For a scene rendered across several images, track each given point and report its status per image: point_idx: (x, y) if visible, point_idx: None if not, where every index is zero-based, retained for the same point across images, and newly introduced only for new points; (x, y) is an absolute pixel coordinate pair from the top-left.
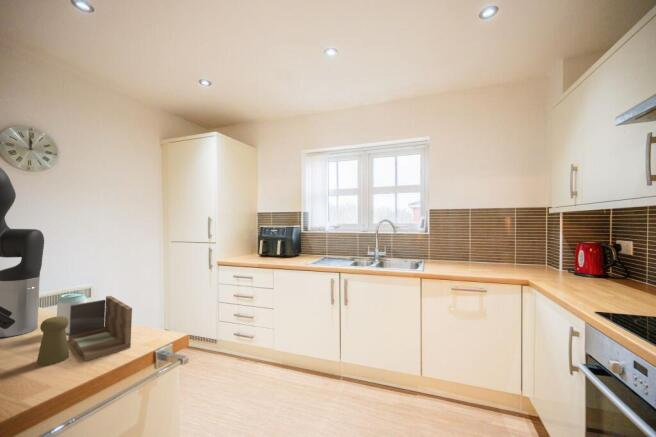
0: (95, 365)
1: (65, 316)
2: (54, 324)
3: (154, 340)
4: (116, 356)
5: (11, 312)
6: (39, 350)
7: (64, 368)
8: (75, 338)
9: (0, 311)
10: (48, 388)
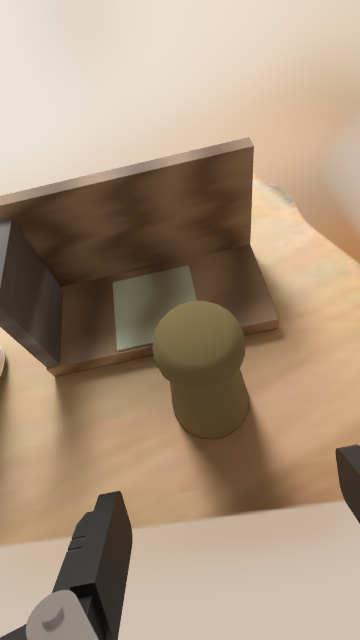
0: (324, 307)
1: None
2: (242, 336)
3: None
4: (288, 270)
5: (116, 493)
6: (212, 419)
7: (300, 368)
8: (101, 349)
9: (112, 554)
10: None
